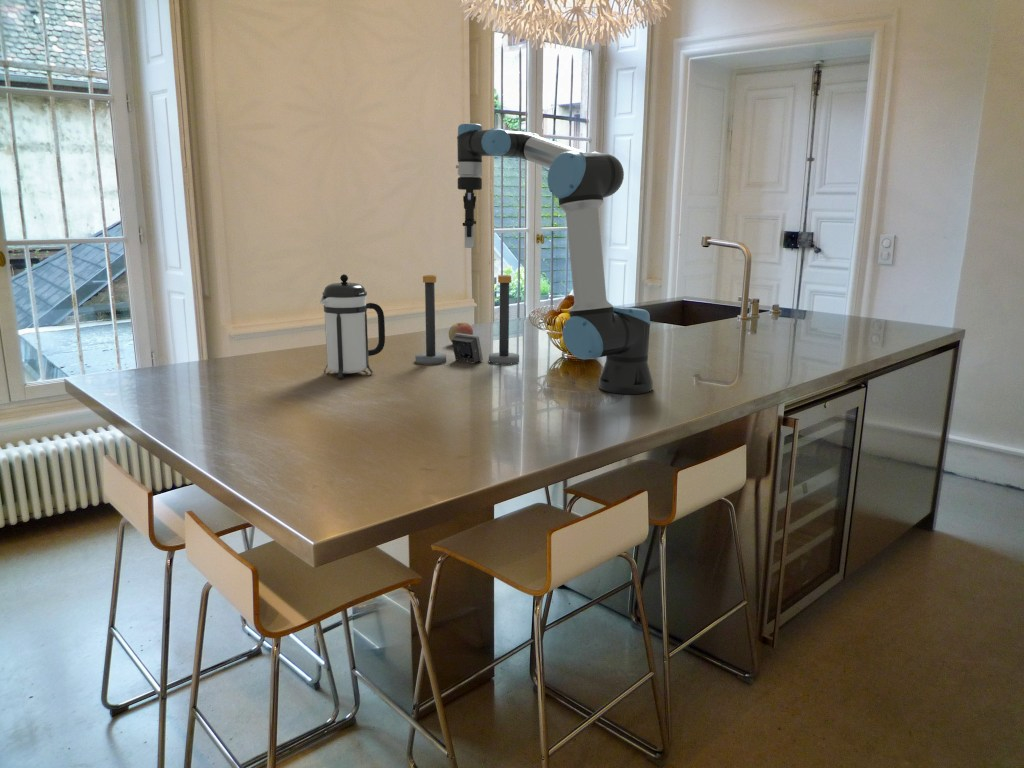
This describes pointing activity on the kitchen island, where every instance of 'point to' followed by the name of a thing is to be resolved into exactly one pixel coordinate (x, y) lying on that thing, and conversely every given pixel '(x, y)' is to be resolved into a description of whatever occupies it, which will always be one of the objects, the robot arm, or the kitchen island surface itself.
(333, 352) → the coffee press
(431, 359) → the post
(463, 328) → the apple
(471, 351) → the electrical switch
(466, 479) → the kitchen island surface
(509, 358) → the post
